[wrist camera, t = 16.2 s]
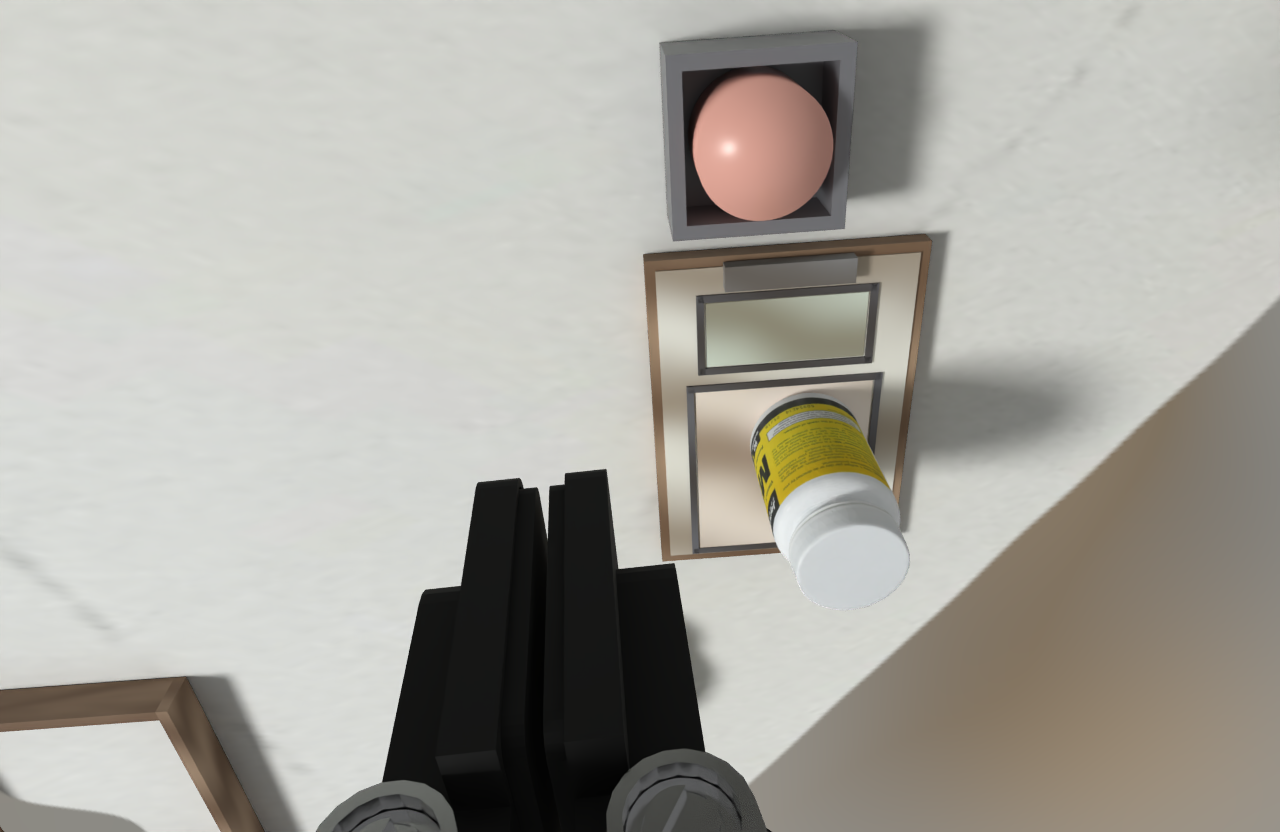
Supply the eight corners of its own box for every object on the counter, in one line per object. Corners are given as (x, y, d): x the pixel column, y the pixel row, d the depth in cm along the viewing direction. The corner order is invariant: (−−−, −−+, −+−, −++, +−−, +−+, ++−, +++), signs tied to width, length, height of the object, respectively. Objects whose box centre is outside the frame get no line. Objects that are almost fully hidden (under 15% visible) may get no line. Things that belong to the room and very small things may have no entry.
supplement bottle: (731, 416, 35) (764, 546, 28) (836, 371, 34) (899, 493, 27) (772, 497, 37) (812, 636, 30) (871, 457, 36) (938, 590, 29)
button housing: (659, 42, 28) (665, 55, 26) (834, 30, 28) (857, 41, 26) (667, 214, 31) (672, 241, 29) (824, 203, 31) (844, 228, 29)
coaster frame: (-113, 698, 43) (-146, 734, 41) (185, 676, 43) (167, 711, 41) (22, 868, 51) (0, 904, 49) (273, 849, 51) (260, 885, 49)
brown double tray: (643, 254, 32) (644, 268, 31) (925, 233, 32) (938, 247, 31) (661, 550, 40) (663, 571, 39) (888, 533, 40) (897, 554, 39)
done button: (685, 70, 28) (694, 85, 25) (815, 60, 28) (837, 75, 25) (689, 199, 30) (697, 225, 27) (809, 190, 30) (829, 216, 27)
